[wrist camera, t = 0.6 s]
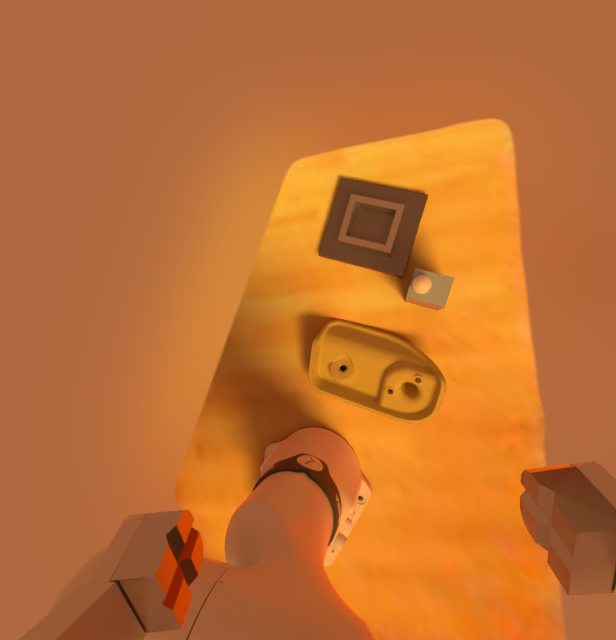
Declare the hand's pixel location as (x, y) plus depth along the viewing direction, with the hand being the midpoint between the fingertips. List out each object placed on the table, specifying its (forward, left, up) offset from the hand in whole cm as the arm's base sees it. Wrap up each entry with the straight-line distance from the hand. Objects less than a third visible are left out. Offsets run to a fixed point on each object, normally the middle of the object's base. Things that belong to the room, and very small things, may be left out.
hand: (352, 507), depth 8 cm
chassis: (+19, +9, -48) cm, 52 cm away
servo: (+11, -2, -48) cm, 49 cm away
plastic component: (-4, +2, -48) cm, 48 cm away
